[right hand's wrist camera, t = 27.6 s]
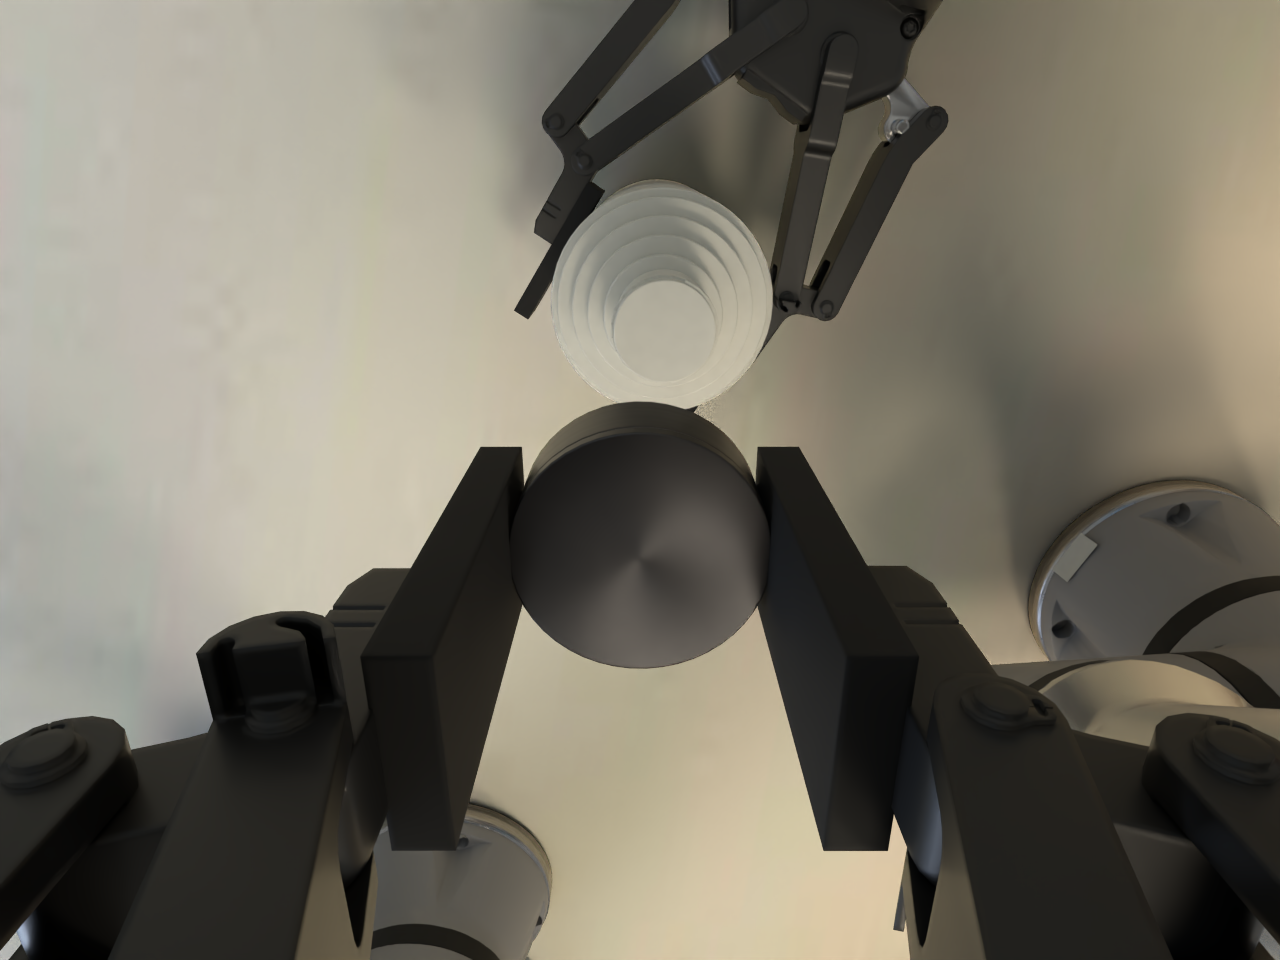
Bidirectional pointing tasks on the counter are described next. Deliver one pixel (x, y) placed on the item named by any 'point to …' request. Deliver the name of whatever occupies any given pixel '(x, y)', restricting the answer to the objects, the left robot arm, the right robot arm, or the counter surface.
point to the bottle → (661, 296)
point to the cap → (640, 537)
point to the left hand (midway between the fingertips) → (605, 359)
